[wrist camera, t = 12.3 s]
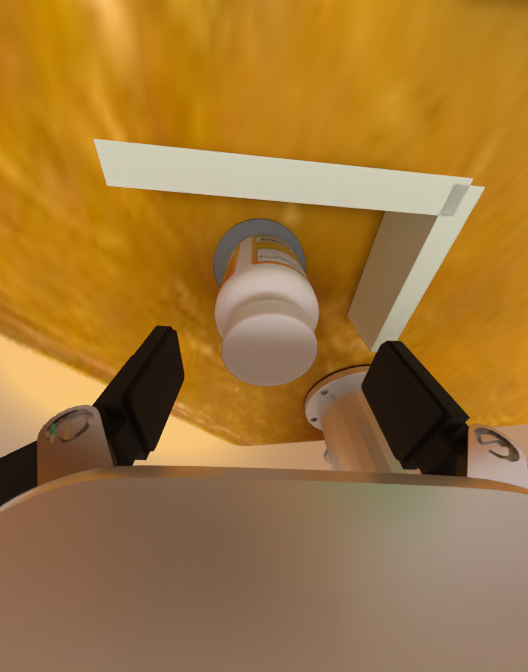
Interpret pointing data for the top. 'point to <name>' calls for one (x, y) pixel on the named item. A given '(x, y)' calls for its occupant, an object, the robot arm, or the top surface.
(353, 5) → the top surface
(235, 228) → the pad
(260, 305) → the supplement bottle
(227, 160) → the corner walls
